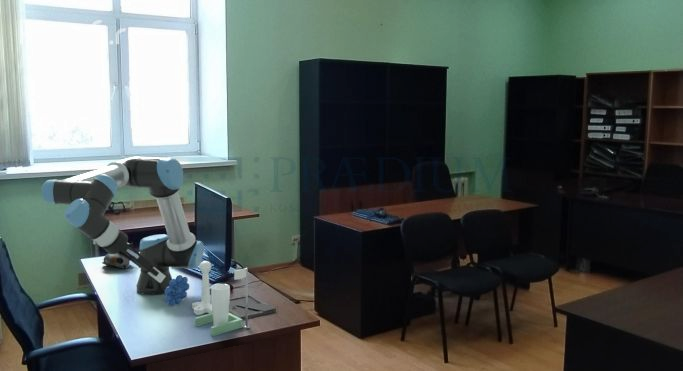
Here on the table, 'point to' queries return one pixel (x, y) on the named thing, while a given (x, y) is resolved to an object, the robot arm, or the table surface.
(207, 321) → the green u-shaped piece
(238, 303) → the picture frame
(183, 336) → the table surface
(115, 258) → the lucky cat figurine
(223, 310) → the drinking glass
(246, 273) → the flag post
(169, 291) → the grapes
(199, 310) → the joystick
